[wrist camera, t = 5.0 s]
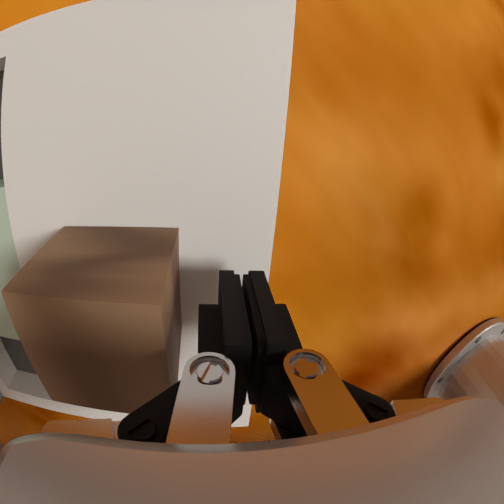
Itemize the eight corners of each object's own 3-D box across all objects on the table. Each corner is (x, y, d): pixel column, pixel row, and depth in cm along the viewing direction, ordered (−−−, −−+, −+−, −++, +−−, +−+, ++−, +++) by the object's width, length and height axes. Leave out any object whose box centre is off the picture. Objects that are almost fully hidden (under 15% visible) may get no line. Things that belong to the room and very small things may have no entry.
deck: (281, 17, 10) (313, -22, 6) (244, 399, 20) (252, 449, 16) (-65, 84, 6) (-109, 91, 2) (2, 372, 17) (-16, 408, 13)
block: (178, 227, 11) (160, 305, 7) (181, 328, 13) (176, 417, 9) (64, 226, 10) (0, 291, 6) (84, 321, 12) (52, 400, 8)
